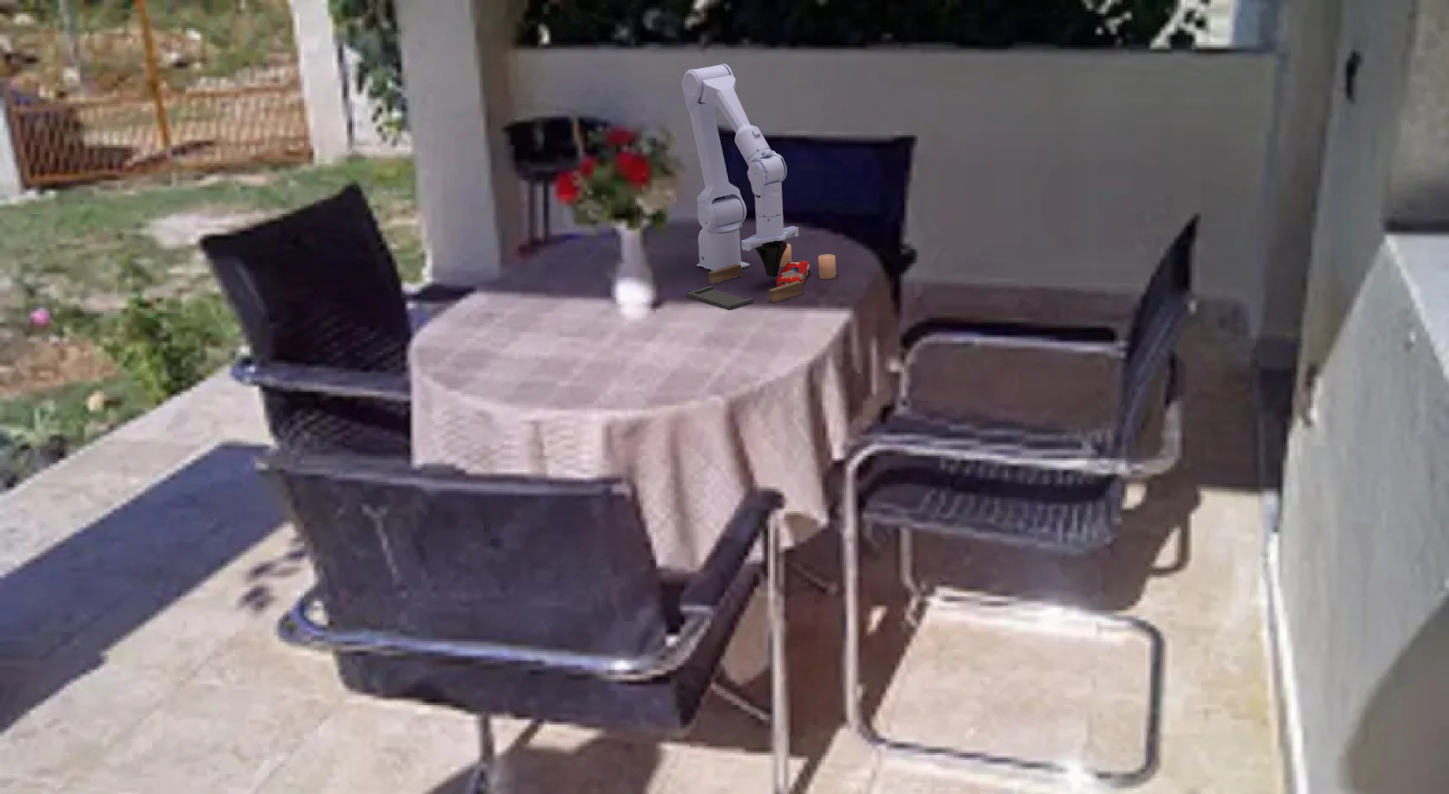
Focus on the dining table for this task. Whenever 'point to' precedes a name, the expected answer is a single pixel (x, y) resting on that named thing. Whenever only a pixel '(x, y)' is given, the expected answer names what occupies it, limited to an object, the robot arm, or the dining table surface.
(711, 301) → the tray
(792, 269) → the race car
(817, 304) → the dining table surface
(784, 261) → the peach rounded stick
